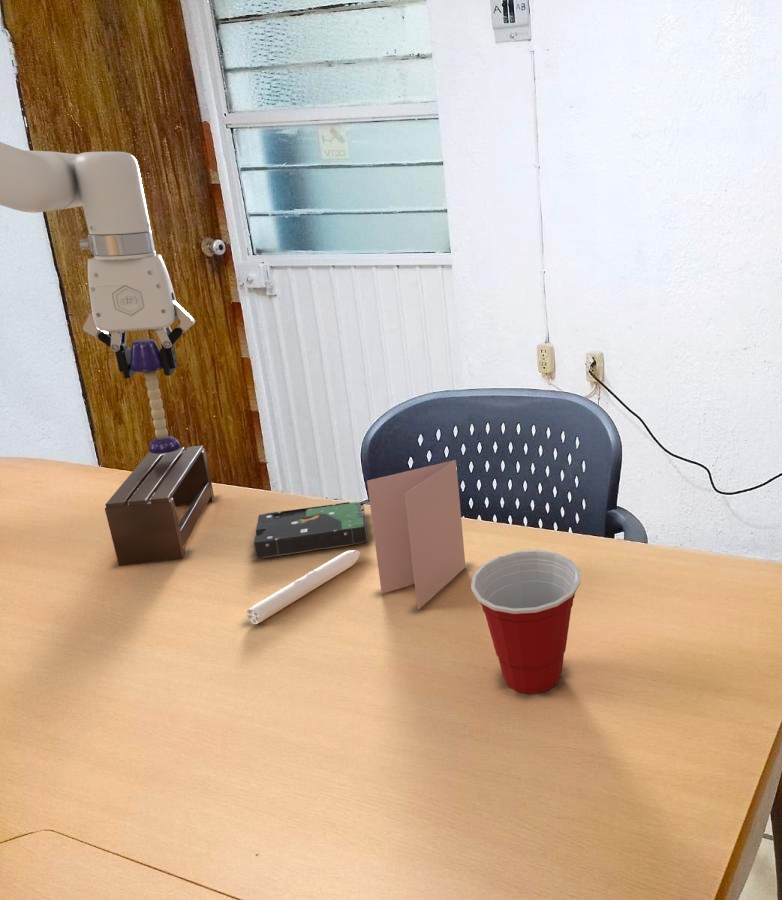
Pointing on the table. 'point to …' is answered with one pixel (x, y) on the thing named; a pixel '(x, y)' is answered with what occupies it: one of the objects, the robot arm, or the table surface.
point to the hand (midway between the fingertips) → (150, 373)
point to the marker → (301, 586)
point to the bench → (159, 506)
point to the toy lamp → (153, 392)
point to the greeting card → (418, 529)
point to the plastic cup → (528, 614)
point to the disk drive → (310, 529)
